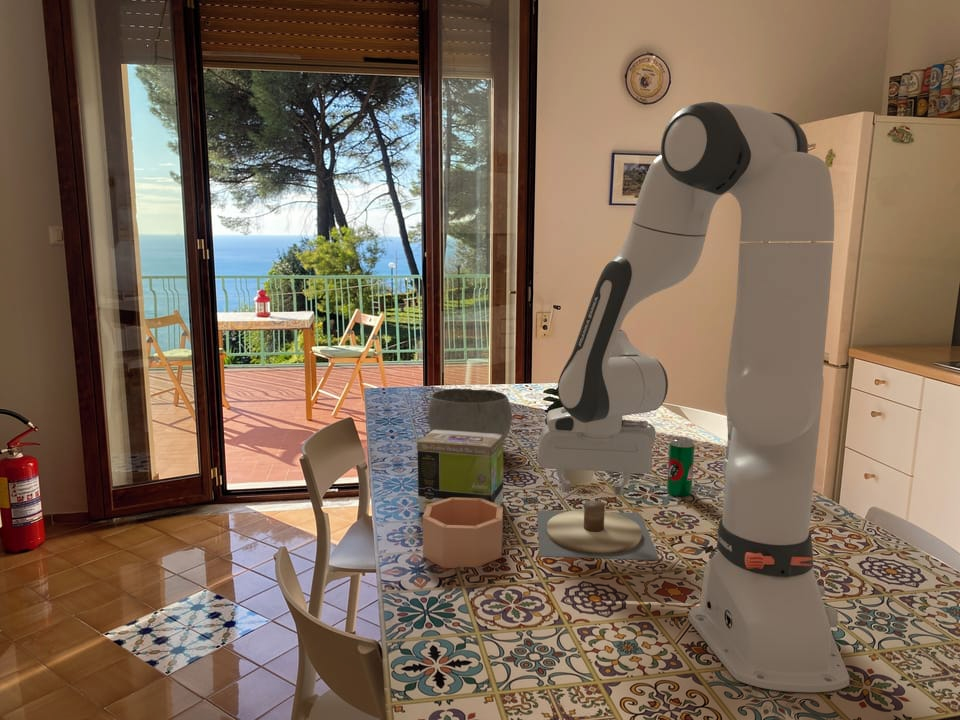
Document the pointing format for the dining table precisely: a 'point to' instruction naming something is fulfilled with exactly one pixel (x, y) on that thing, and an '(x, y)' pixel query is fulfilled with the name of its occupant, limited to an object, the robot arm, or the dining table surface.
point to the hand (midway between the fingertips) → (591, 492)
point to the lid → (594, 530)
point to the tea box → (459, 466)
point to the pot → (462, 532)
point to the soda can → (680, 466)
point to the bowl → (470, 411)
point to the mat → (551, 549)
